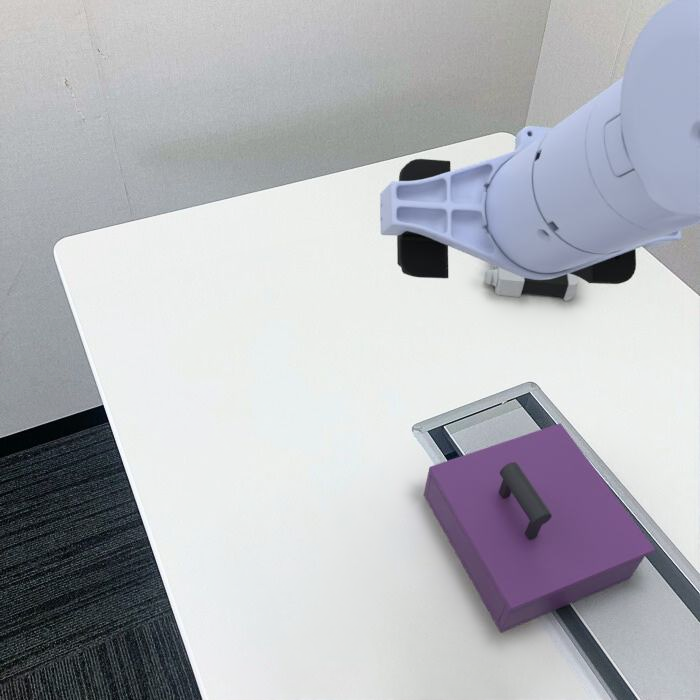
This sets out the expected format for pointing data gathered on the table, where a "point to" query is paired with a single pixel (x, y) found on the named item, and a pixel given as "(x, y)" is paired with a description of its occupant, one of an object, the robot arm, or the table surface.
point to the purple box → (488, 589)
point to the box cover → (538, 515)
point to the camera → (530, 284)
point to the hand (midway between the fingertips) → (467, 251)
